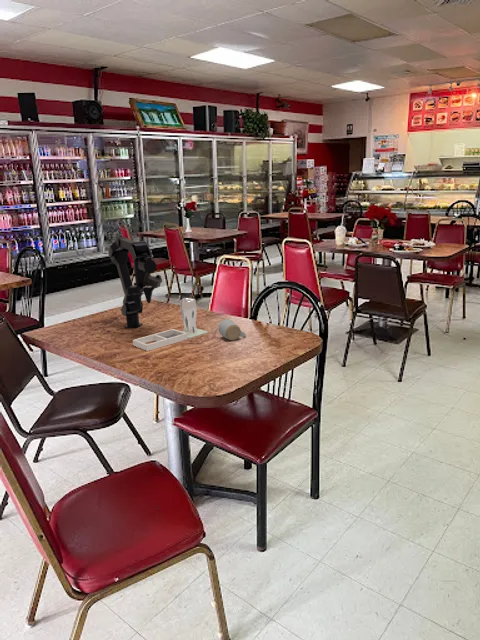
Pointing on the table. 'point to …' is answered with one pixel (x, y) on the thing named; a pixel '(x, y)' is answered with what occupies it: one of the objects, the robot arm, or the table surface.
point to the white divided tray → (164, 339)
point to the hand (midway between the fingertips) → (144, 305)
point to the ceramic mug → (230, 330)
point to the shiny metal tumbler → (189, 315)
